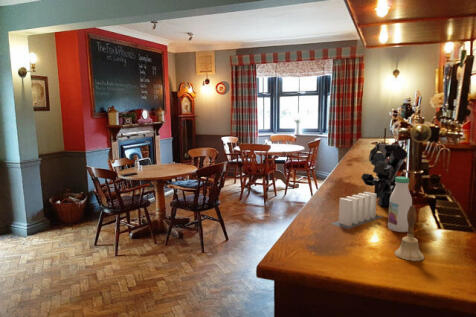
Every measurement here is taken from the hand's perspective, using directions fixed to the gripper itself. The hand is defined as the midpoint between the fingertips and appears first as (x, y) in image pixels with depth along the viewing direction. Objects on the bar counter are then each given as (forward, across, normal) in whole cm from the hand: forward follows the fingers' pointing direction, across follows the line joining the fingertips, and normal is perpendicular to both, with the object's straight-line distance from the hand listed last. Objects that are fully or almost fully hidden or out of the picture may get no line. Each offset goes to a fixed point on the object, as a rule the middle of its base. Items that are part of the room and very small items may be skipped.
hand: (375, 198), depth 148 cm
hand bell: (+25, +29, -14) cm, 41 cm away
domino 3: (+13, 0, -3) cm, 14 cm away
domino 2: (+16, 0, -6) cm, 17 cm away
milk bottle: (+11, +15, 0) cm, 19 cm away
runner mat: (+14, 0, -3) cm, 14 cm away
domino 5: (+8, 0, +2) cm, 8 cm away
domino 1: (+19, 0, -9) cm, 21 cm away
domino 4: (+11, 0, 0) cm, 11 cm away
